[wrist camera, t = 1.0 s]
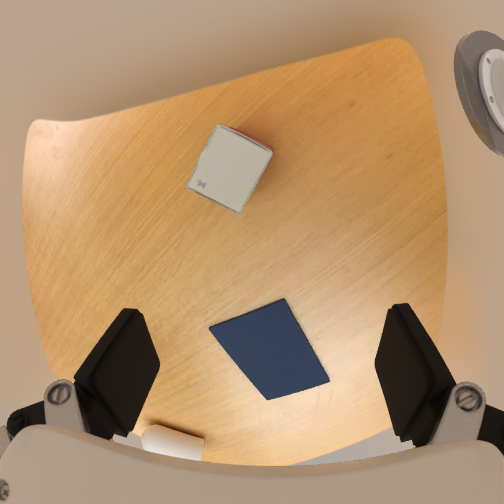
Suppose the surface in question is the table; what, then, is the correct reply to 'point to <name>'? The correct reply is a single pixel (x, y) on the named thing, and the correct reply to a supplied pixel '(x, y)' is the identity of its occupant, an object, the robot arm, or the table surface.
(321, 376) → the cloth
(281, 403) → the table surface
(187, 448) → the white rounded piece
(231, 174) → the small box
